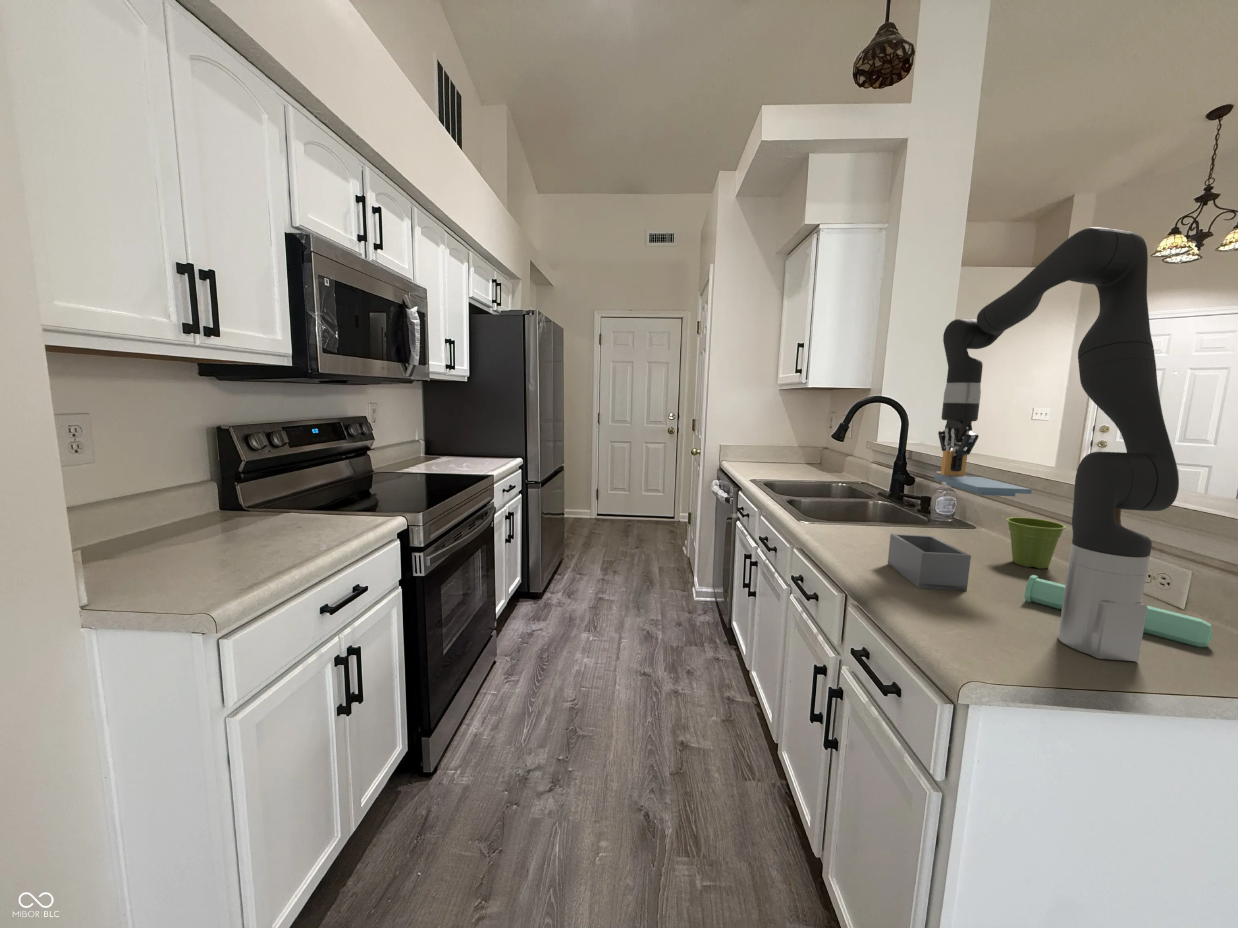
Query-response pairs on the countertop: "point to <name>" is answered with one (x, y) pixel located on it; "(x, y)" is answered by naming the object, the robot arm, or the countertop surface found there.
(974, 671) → the countertop surface
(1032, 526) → the plant pot
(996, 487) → the lid
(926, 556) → the storage box
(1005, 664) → the countertop surface
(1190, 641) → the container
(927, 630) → the countertop surface
